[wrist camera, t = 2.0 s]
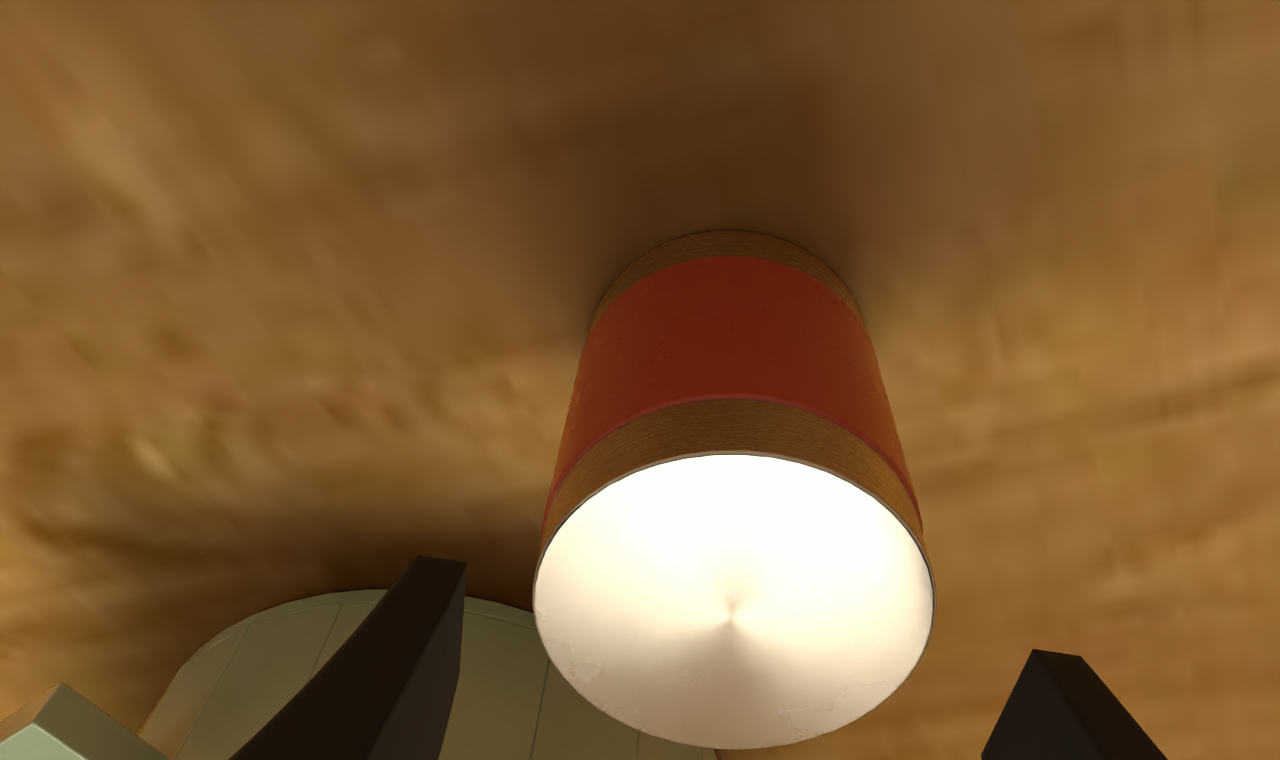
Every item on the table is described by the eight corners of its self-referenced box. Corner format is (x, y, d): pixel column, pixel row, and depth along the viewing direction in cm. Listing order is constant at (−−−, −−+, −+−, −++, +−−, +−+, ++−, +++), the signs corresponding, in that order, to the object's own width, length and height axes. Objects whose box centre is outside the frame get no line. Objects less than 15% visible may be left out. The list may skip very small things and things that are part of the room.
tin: (570, 451, 21) (512, 723, 15) (602, 204, 18) (547, 415, 12) (830, 491, 21) (878, 777, 15) (903, 252, 18) (999, 486, 12)
